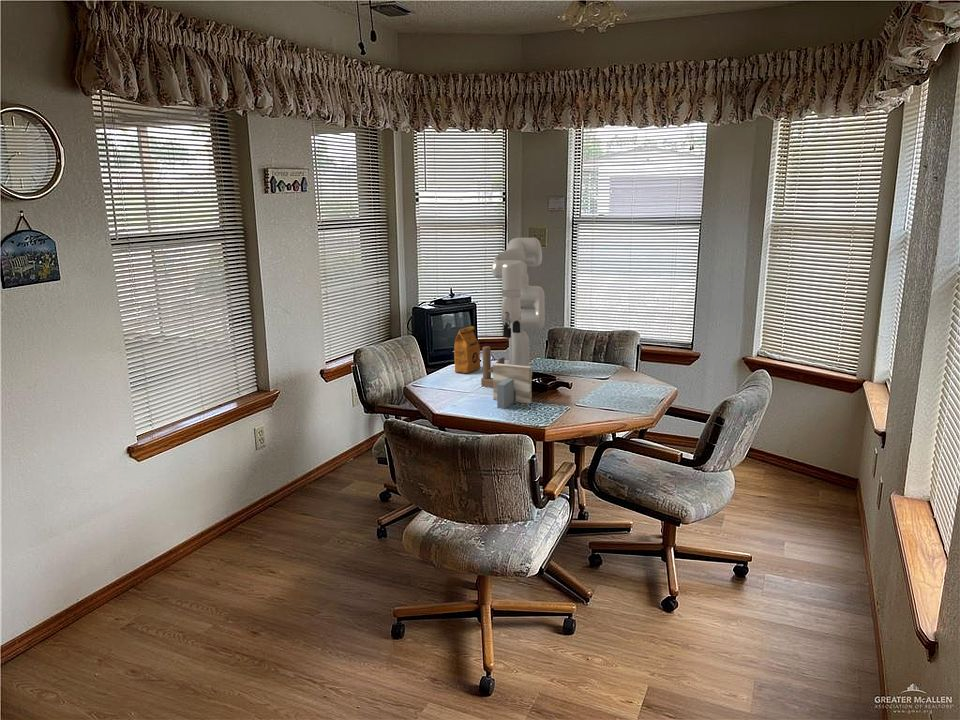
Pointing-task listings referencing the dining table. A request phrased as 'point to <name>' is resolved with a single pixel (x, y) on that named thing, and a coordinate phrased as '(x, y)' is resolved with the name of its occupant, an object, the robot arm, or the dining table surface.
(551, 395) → the dining table surface
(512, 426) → the dining table surface
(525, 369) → the upright beige panel
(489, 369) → the tan post stand
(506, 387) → the grey rectangular panel
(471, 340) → the coffee package
